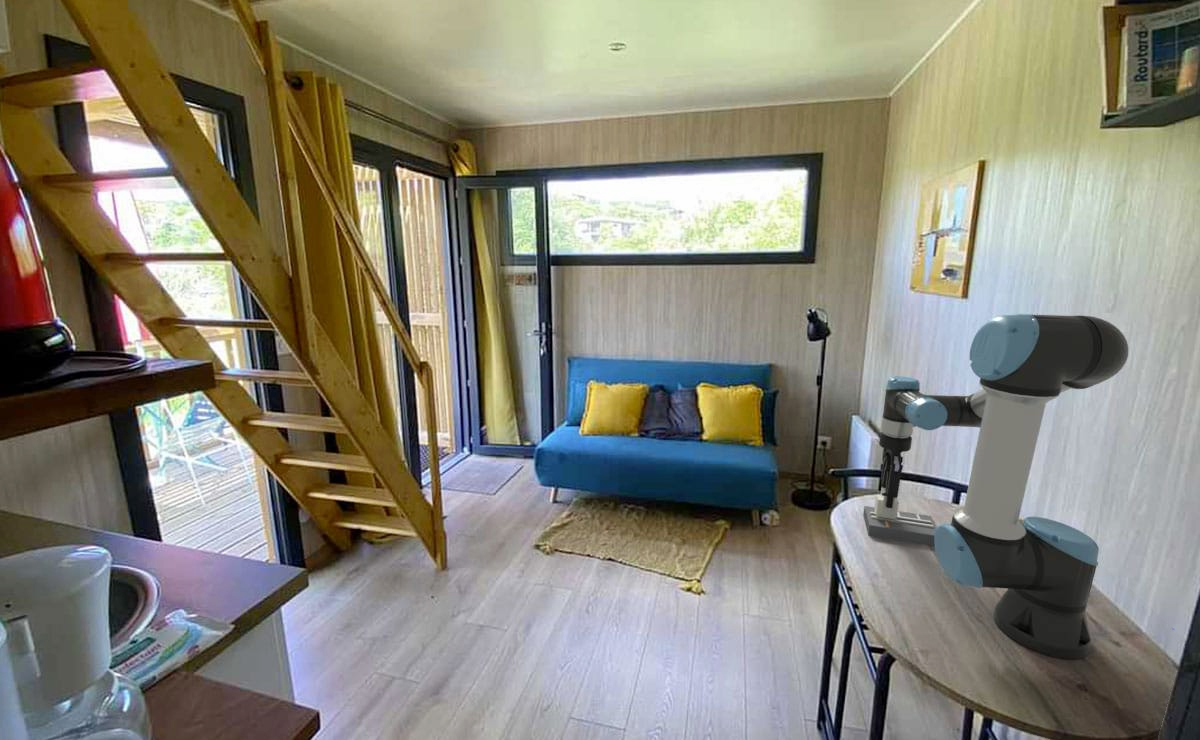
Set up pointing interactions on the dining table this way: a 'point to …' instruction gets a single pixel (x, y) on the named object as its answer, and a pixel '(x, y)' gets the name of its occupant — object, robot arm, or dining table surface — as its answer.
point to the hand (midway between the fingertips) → (885, 513)
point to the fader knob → (879, 506)
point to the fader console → (901, 527)
